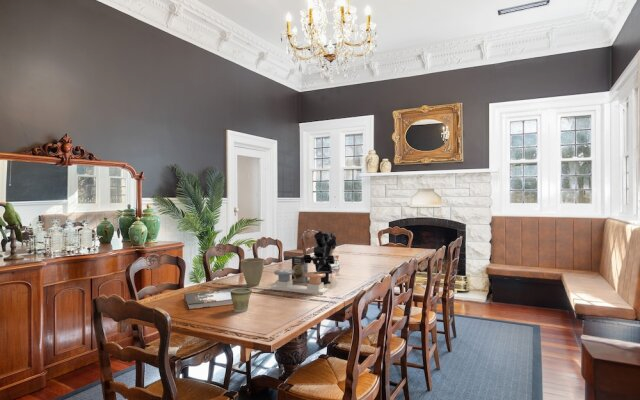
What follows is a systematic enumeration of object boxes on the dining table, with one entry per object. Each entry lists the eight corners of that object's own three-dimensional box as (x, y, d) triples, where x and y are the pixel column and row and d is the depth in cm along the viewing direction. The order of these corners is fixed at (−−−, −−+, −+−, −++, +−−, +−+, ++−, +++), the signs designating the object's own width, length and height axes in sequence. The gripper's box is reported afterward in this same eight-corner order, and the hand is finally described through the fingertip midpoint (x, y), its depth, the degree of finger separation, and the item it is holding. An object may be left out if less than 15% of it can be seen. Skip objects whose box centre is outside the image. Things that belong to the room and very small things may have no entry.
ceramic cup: (241, 314, 194) (241, 293, 194) (226, 311, 199) (225, 291, 199) (259, 307, 205) (259, 288, 205) (244, 305, 210) (244, 285, 210)
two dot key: (270, 282, 243) (270, 271, 243) (280, 278, 254) (280, 268, 254) (288, 284, 238) (288, 273, 238) (297, 280, 249) (297, 269, 249)
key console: (270, 289, 245) (270, 280, 245) (278, 286, 253) (278, 278, 253) (322, 294, 231) (322, 285, 231) (328, 291, 240) (328, 282, 239)
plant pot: (267, 282, 264) (267, 257, 263) (261, 287, 249) (261, 261, 249) (244, 282, 265) (244, 257, 265) (237, 287, 250) (237, 261, 250)
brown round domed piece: (301, 285, 235) (301, 274, 235) (310, 281, 246) (310, 270, 246) (320, 287, 230) (320, 276, 230) (328, 282, 241) (328, 272, 241)
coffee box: (291, 281, 267) (291, 256, 267) (295, 279, 273) (295, 255, 273) (304, 282, 264) (303, 257, 263) (308, 280, 270) (307, 256, 269)
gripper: (303, 241, 249) (298, 262, 238) (333, 241, 245) (330, 263, 234) (307, 252, 257) (302, 273, 246) (336, 253, 252) (332, 274, 242)
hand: (316, 270), depth 242 cm, fingers closed
